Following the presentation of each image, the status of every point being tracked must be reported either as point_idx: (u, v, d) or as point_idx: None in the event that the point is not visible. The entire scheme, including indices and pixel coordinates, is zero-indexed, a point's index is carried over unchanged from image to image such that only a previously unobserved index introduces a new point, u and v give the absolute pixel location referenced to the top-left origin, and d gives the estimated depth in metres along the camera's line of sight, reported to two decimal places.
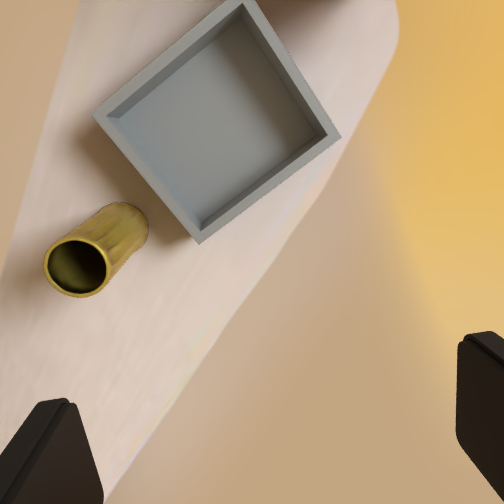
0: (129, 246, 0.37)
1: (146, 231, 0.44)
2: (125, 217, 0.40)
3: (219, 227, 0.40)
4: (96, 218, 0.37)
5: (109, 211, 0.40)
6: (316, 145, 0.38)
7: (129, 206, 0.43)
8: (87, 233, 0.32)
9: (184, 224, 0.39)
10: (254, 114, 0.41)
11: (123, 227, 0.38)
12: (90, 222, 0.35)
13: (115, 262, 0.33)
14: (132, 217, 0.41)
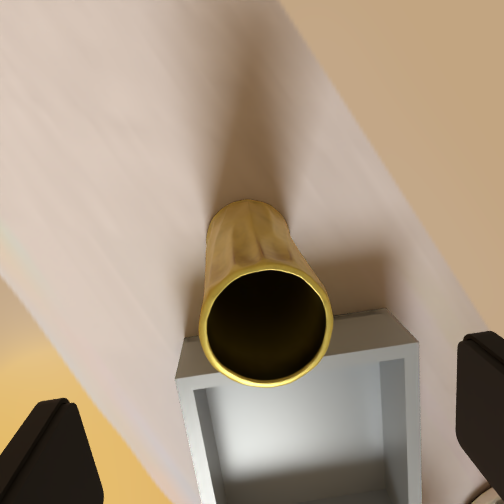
0: None
1: None
2: None
3: (185, 415, 0.25)
4: None
5: None
6: None
7: None
8: None
9: (215, 375, 0.25)
10: (289, 464, 0.33)
11: None
12: None
13: None
14: None
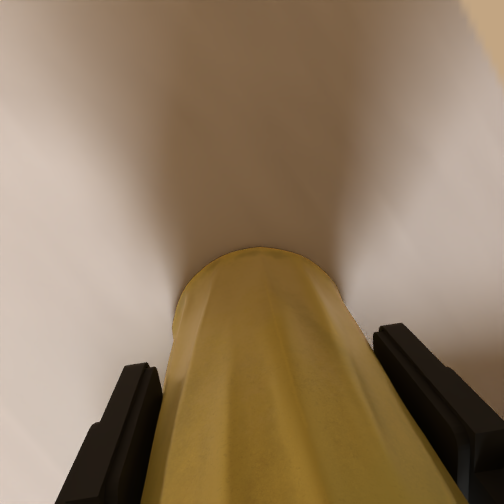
0: None
1: None
2: None
3: None
4: None
5: None
6: None
7: None
8: None
9: None
10: None
11: None
12: None
13: None
14: None
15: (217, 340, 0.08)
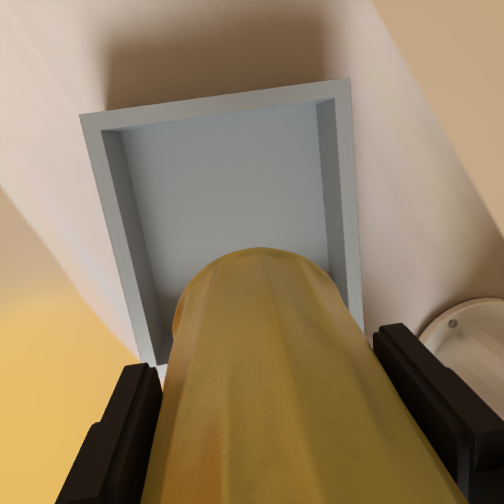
0: None
1: None
2: None
3: (93, 164, 0.23)
4: None
5: None
6: (150, 347, 0.27)
7: None
8: None
9: (124, 112, 0.22)
10: None
11: None
12: None
13: None
14: None
15: (217, 340, 0.08)
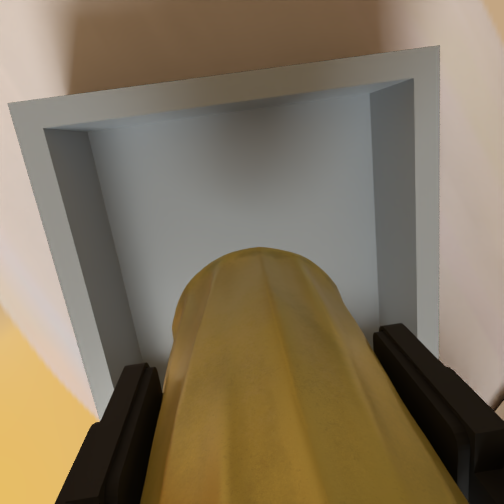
0: None
1: None
2: None
3: (34, 181, 0.15)
4: None
5: None
6: None
7: None
8: None
9: (80, 99, 0.14)
10: None
11: None
12: None
13: None
14: None
15: (217, 341, 0.08)
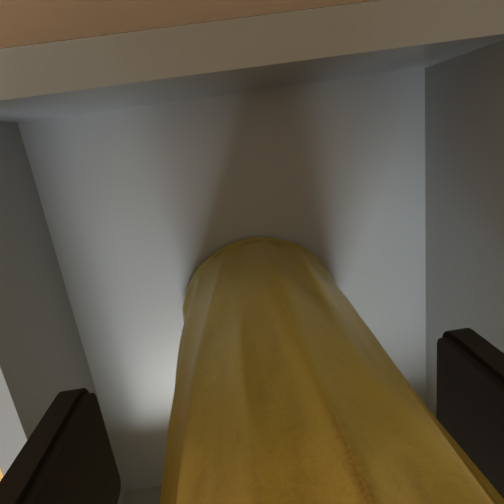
0: None
1: None
2: None
3: None
4: None
5: None
6: None
7: None
8: None
9: None
10: None
11: None
12: None
13: None
14: None
15: (228, 304, 0.10)
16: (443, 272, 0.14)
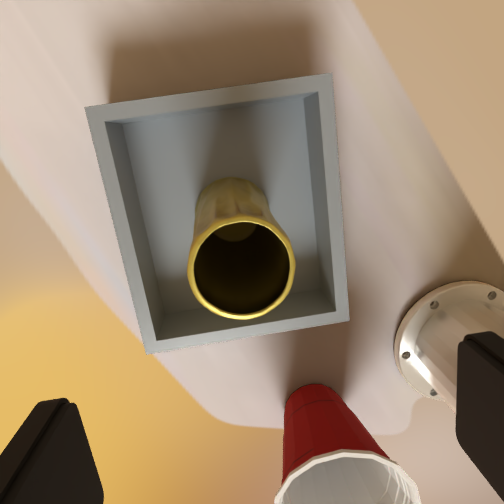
0: None
1: None
2: None
3: (98, 152, 0.25)
4: None
5: None
6: (150, 324, 0.29)
7: None
8: None
9: (125, 104, 0.24)
10: None
11: None
12: None
13: None
14: None
15: (213, 195, 0.26)
16: (315, 192, 0.30)
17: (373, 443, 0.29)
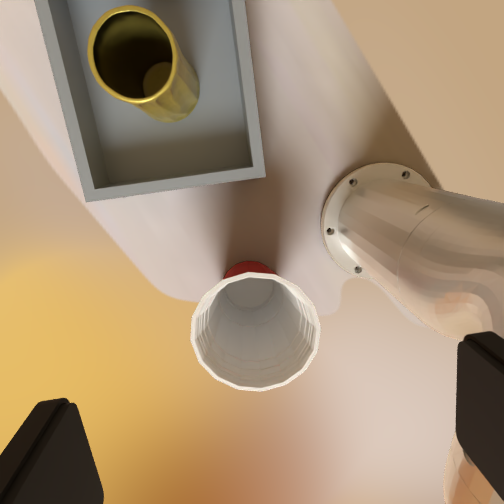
0: None
1: (149, 115, 0.36)
2: (173, 114, 0.32)
3: (37, 7, 0.29)
4: (187, 90, 0.29)
5: (189, 98, 0.33)
6: (89, 172, 0.33)
7: (185, 115, 0.36)
8: (170, 92, 0.24)
9: None
10: (160, 130, 0.37)
11: (162, 112, 0.30)
12: (184, 86, 0.28)
13: None
14: (171, 117, 0.34)
15: None
16: (237, 65, 0.35)
17: None
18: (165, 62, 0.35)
